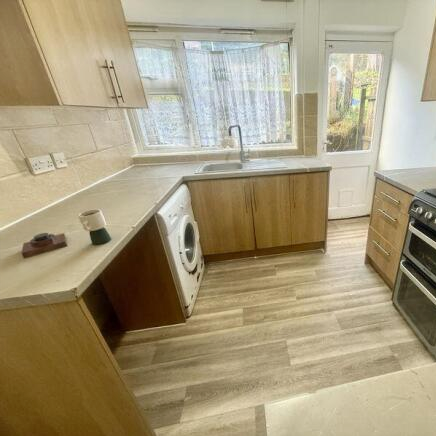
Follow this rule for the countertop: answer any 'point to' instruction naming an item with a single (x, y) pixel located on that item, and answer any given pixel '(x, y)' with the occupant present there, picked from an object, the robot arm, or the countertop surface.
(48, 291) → the countertop surface
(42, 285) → the countertop surface
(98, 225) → the character mug
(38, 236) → the button
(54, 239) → the button box
